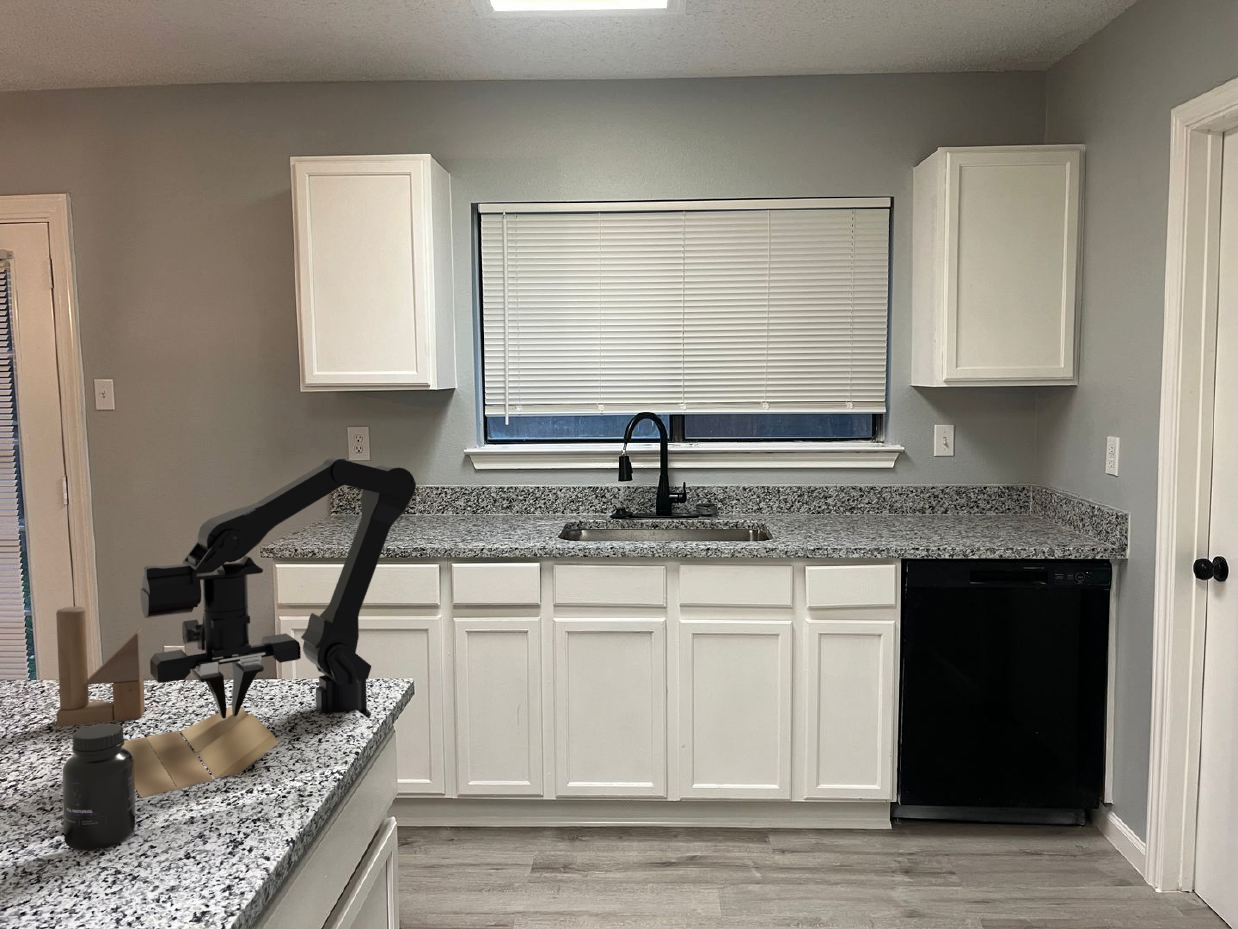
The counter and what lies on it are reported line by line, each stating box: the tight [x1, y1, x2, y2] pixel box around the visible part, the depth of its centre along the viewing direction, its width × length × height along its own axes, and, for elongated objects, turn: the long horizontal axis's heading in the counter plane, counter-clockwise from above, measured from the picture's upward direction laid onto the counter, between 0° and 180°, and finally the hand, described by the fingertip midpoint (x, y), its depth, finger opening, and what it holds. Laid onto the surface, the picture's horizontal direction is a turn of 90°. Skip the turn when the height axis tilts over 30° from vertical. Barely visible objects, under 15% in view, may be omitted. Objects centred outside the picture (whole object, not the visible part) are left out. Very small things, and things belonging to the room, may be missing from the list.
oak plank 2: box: [197, 712, 280, 779], centre depth 116 cm, size 8×10×2 cm
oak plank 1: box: [180, 705, 249, 754], centre depth 124 cm, size 8×10×2 cm
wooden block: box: [55, 606, 146, 728], centre depth 130 cm, size 4×11×18 cm, turn 110°
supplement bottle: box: [62, 723, 136, 851], centre depth 97 cm, size 7×7×12 cm
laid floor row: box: [122, 730, 215, 799], centre depth 115 cm, size 8×20×2 cm, turn 38°
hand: (229, 716), depth 126 cm, fingers closed
